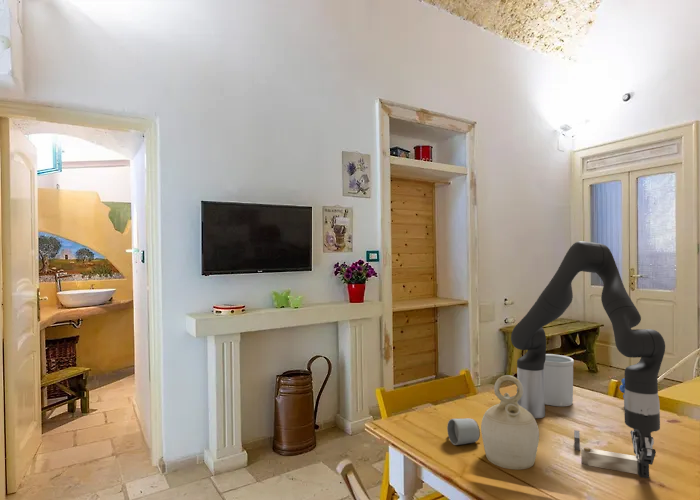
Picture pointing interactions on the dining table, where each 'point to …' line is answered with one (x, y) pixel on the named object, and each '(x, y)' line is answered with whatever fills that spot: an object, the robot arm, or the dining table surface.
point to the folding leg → (609, 460)
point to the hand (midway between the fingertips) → (643, 476)
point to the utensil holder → (558, 380)
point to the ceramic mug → (463, 431)
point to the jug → (509, 430)
